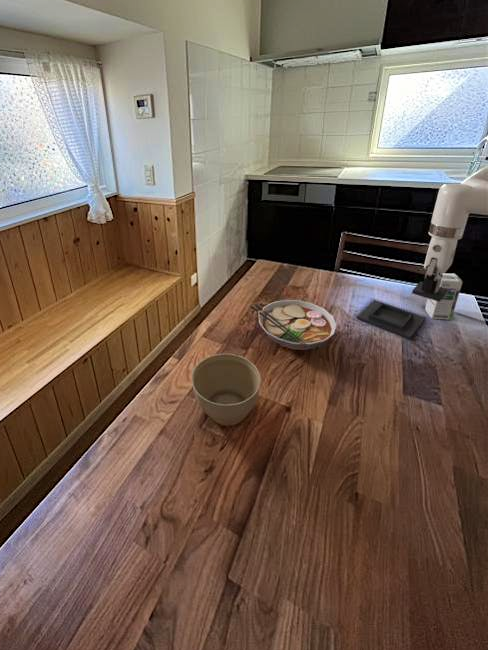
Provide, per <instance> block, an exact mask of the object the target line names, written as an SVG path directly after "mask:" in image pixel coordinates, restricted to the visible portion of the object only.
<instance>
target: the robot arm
mask: <svg viewBox="0 0 488 650" xmlns="http://www.w3.org/2000/svg"><path fill="white" fill-rule="evenodd" d="M470 214H473V215H474V214H475V215H483V216H488V165H486V166H485V167H483V168H480V169H479V170H478V171H476V172H474V173H473V174H471V175H470V176H468V177H467V178H466V179H464V180H463V181H462V182H461V183H446V184H443V185H441V187H440V188H439V189H438V193H437V197H436V201H435V204H434V209H433V212H432V217H431V221H430V225H429V229H428V231H427V232H428V235H429V236H430V237H431V239H430V241H429V245H428V249H427V252H426V256H425V260H424V264H423V269H424V271H425V270H426V272H425V274H426V275H425V274H424V277H423V281H422V282H423V285H422V290H423V291H427V292H430V293H434V292H435V289H436V286H437V282H438V281H437V278H438V275H440V276H441V277H442V276H443V275H442V274H443V273H446V272H447V271H448V270H449V268H451V266H452V264H453V261H454V257H455V254H456V248H457V245H458V240H461V239H462V238H463V235H464V232H465V229H466V225H467V222H468V219H469V215H470ZM433 273H435V274H433Z"/></svg>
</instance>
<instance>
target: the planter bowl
mask: <svg viewBox="0 0 488 650" xmlns="http://www.w3.org/2000/svg"><path fill="white" fill-rule="evenodd" d="M190 379H191V381H190V382H191V387H192V389H193V393H194V397H195V399H196V401H197V403H198V405H199V407H200V408H201V409H202V411H203V412H204V413H205V414H206V415H207V416H208V417H210V418H211V420H212V421H213V422H215V423H216V424H219V425H221V426H225V427H229V426H235V425H237V424H239V423H241V422H242V421H243V420H244V419H245V417H247V416H248V415H249V414H250V412H251V411H252V410H253V408H254V407H255V405H256V403H257V401H258V398H259V394H260V389H261V383H262V381H261V380H262V379H261V374H260V372H259V370H258V367H257V366H256V365H255V364H254V363H253V362H252V361H251V360H249V359H248V358H245V357H243V356H241V355H239V354H238V355H237V354H235V353H234V354H232V353H217V354H213V355H210V356H207V357H206V358H203V359H202V360H201V361H199V362H198V363H197V364H196V366H194V369H193V371H192V373H191V378H190Z"/></svg>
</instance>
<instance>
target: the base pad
mask: <svg viewBox="0 0 488 650" xmlns="http://www.w3.org/2000/svg"><path fill="white" fill-rule="evenodd" d="M356 320H358V321H361V322H363V323H366V324H368V325H371V326H374V327H376V328H379V329H381V330H384V331H386V332H388V333H391V334H394V335H396V336H399V337H401V338H404V339H406V340H410V341H411V339H412V338H413V336H414V335H415V334H416V332H417V331H418V330H419V329H420V327H421V326H422V325H423V324H424V322H425V321H426V317H425V316H423V315H419V314H417V313H414V312H412V311H408V310H405V309H403V308H399V307H396V306H393V305H390V304H388V303H385V302H381V301H378V300H376V299H374V300H372V301H371V302H370V303H369V304H368V305H367V306H366V307H365V308H364V309H363V310H362V311H361V312H359V314H358V315H356Z"/></svg>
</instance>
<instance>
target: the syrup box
mask: <svg viewBox="0 0 488 650" xmlns="http://www.w3.org/2000/svg"><path fill="white" fill-rule="evenodd" d="M442 275H443V276H442V280H441V284H440V287H442V288H446V289H447V292H446V294H445V295H444V297H443V298H442V299H441V301H440V302H439V301H435V300H432V299H429V298H427V301H426V304H425V309H424V310H425V312H426V313H427V315H428V316H429V317H430V318H431V319H433V320H434V319H435V320H446V321H452V319H453V317H454V311H455V309H456V306H457V302H458V299H459V295H460V292H461V289H462V285H463V280H462V279H461V278H460V277H459V275H457V274H456V273H446V272H445V273H443V274H442Z"/></svg>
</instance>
